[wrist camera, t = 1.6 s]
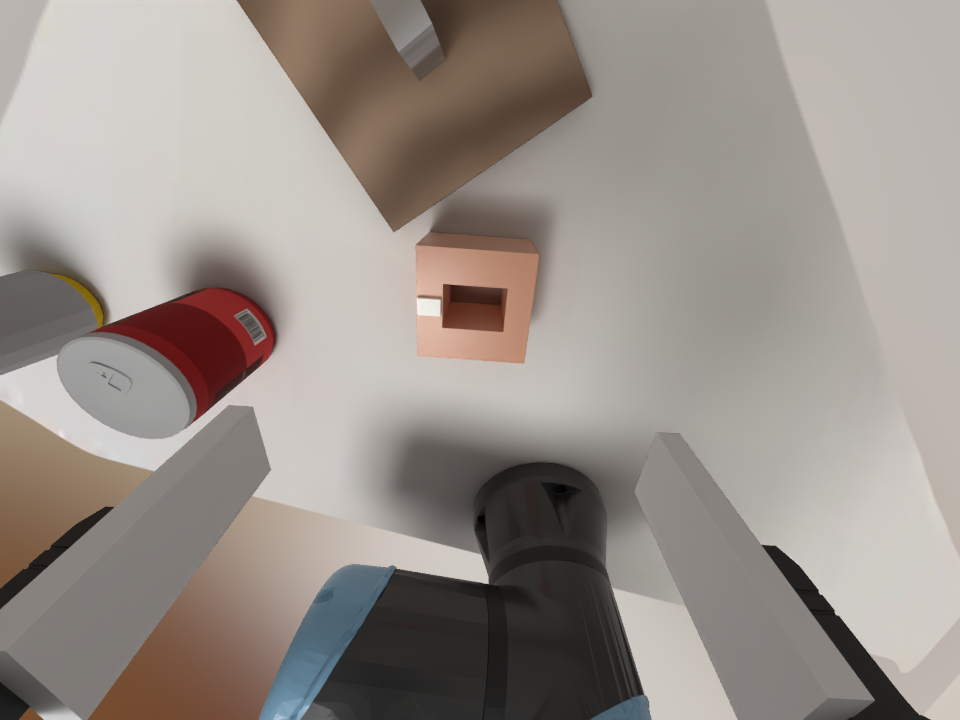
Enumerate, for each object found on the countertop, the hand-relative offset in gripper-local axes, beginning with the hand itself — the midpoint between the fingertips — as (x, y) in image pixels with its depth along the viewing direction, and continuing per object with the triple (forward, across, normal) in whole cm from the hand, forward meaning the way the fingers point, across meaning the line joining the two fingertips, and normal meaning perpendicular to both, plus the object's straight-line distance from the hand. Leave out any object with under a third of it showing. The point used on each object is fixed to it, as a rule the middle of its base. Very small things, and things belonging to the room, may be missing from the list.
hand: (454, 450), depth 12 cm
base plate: (+20, +4, -15) cm, 26 cm away
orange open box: (+20, 0, 0) cm, 20 cm away
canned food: (+21, +22, +6) cm, 30 cm away
